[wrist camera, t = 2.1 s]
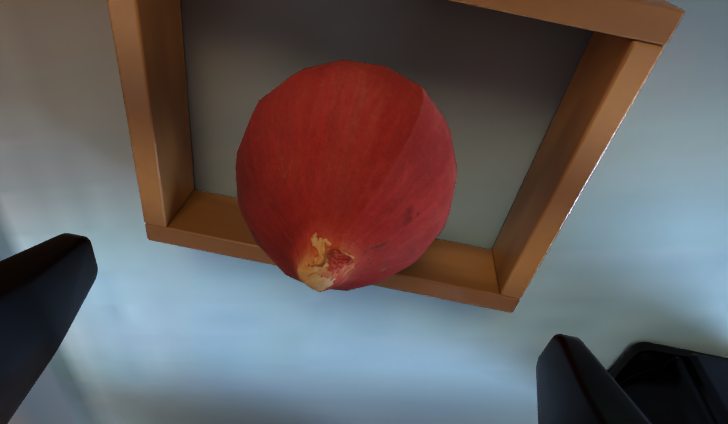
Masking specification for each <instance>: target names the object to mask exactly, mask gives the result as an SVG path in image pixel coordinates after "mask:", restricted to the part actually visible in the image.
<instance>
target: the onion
mask: <svg viewBox="0 0 728 424" xmlns="http://www.w3.org/2000/svg"><path fill="white" fill-rule="evenodd" d="M456 174H457V163H456V158H455V153H454V148H453V142H452V137H451V132H450V129H449V127H448V125H447V123H446V121H445V118H444V117H443V115H442V114H441V113H440V111H439V110H438V108H437V107H436V106H435V104H434V103H433V102H432V100H431V99H430V97H429V96H428V95H427V93H426V92H425V90H424V89H423V88H422V86H420V85H418V84H416V83H414V82H413V81H411V80H409V79H407V78H405V77H404V76H402V75H400V74H398V73H396V72H395V71H393V70H391V69H389V68H387V67H386V66H381V65H374V64H367V63H360V62H353V61H346V60H340V61H336V62H332V63H327V64H323V65H318V66H314V67H309V68H305V69H303V70H301V71H299V72H297V73H296V74H294V75H292V76H291V77H289V78H288V79H287V80H286V81H284V82H283V83H282V84H280V85H279V86H278V87H276V88H275V89H274V90H273V91H271V92H270V93H269V94H267V95H266V96H265V97H263V98H262V99H261V100H259V102H258V104H257V106H256V108H255V110H254V112H253V114H252V116H251V118H250V121H249V123H248V126H247V128H246V131H245V133H244V136H243V138H242V141H241V143H240V146H239V149H238V151H237V159H236V181H237V197H238V204H239V207H240V210H241V214H242V216H243V218H244V220H245V222H246V224H247V226H248V228H249V230H250V232H251V234H252V236H253V238H254V240H255V242H256V243H257V245H258V246H259V247H260V248H261V249H262V250H263V251H264V252H265V253H266V254H267V256H268V257H269V258H270V259H271V260H272V261H273V262H274V263H275V264H276V265H277V266H278V267H279V268H280V269H281V270H282V271H283V272H284V273H285V274H286V275H287V276H290V277H292V278H294V279H296V280H298V281H301V282H303V283H305V284H306V285H307V286H309V287H310V288H312V289H314V290H316V291H318V292H322V291H325V290H328V289H334V290H345V291H348V290H352V289H356V288H360V287H364V286H368V285H373V284H376V283H378V282H380V281H382V280H384V279H386V278H388V277H390V276H392V275H394V274H395V273H397V272H399V271H401V270H403V269H405V268H407V267H409V266H410V265H412V264H413V263H415V262H416V261H418V259H419V258H420V257H421V256H422V255H423V253H424V252H425V251H426V250H427V248H428V247H429V246H430V245H431V243H432V242H433V241H434V240H435V238H436V237H437V236H438V235H439V233H440V232H441V231H442V230H443V228H444V227H445V224H446V221H447V219H448V216H449V213H450V208H451V203H452V198H453V194H454V189H455V184H456Z"/></svg>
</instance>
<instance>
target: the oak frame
mask: <svg viewBox="0 0 728 424" xmlns="http://www.w3.org/2000/svg"><path fill="white" fill-rule="evenodd" d="M449 1H454V2H459V3H464V4H468V5H473V6H478V7H482V8H487V9H492V10H497V11H501V12H506V13H511V14H516V15H520V16H525V17H530V18H535V19H539V20H544V21H549V22H553V23H558V24H563V25H568V26H572V27H577V28H582V29H587V30H591V31H594V33H593V35H592V37H591V39H590V41H589V43H588V45H587V48H586V50H585V52H584V54H583V56H582V58H581V60H580V62H579V65H578V67H577V69H576V71H575V73H574V75H573V77H572V80H571V82H570V84H569V86H568V88H567V90H566V92H565V95H564V97H563V99H562V101H561V103H560V105H559V107H558V110H557V112H556V114H555V116H554V118H553V120H552V122H551V124H550V127H549V129H548V131H547V133H546V135H545V137H544V139H543V142H542V144H541V146H540V148H539V150H538V152H537V154H536V157H535V159H534V161H533V163H532V165H531V167H530V169H529V171H528V174H527V176H526V178H525V180H524V182H523V184H522V186H521V189H520V191H519V193H518V195H517V197H516V199H515V201H514V204H513V206H512V208H511V210H510V212H509V214H508V216H507V219H506V221H505V223H504V225H503V227H502V229H501V231H500V233H499V236H498V238H497V240H496V242H495V244H494V246H493V248H492V250H490V249H485V248H480V247H475V246H470V245H465V244H460V243H455V242H450V241H445V240H440V239H435V240H434V241H433V242H432V243H431V245H430V246H429V247H428V248H427V250H426V251H425V252H424V253H423V255H422V256H421V257H420V258H419V259H418V261H416V262H415V263H413V264H412V265H410V266H409V267H407V268H405V269H403V270H401V271H399V272H397V273H395V274H394V275H392V276H390V277H388V278H386V279H384V280H382V281H380V282H378V283H376V284H373V285H376V286H381V287H386V288H391V289H396V290H401V291H406V292H411V293H416V294H421V295H426V296H431V297H436V298H441V299H446V300H451V301H456V302H460V303H465V304H470V305H475V306H480V307H485V308H490V309H495V310H500V311H505V312H510V313H511V312H513V311H514V309H515V308H516V306H517V304H518V302H519V300H520V298H521V297H522V295H523V294H524V292H525V290H526V288H527V287H528V285H529V283H530V281H531V280H532V278H533V276H534V274H535V273H536V271H537V269H538V267H539V266H540V264H541V262H542V261H543V259H544V257H545V255H546V254H547V252H548V250H549V248H550V247H551V245H552V243H553V241H554V240H555V238H556V236H557V234H558V233H559V231H560V229H561V227H562V226H563V224H564V222H565V220H566V219H567V217H568V215H569V213H570V212H571V210H572V208H573V206H574V205H575V203H576V201H577V199H578V198H579V196H580V194H581V192H582V191H583V189H584V187H585V185H586V184H587V182H588V180H589V179H590V177H591V175H592V173H593V172H594V170H595V168H596V166H597V165H598V163H599V161H600V159H601V158H602V156H603V154H604V152H605V151H606V149H607V147H608V145H609V144H610V142H611V140H612V138H613V137H614V135H615V133H616V131H617V130H618V128H619V126H620V124H621V123H622V121H623V119H624V117H625V116H626V114H627V112H628V110H629V109H630V107H631V105H632V104H633V102H634V100H635V98H636V97H637V95H638V93H639V91H640V90H641V88H642V86H643V84H644V83H645V81H646V79H647V77H648V76H649V74H650V72H651V70H652V69H653V67H654V65H655V63H656V62H657V60H658V58H659V56H660V55H661V53H662V51H663V46H664V45H667V43H668V42H669V40H670V38H671V37H672V35H673V33H674V31H675V30H676V28H677V26H678V24H679V23H680V21H681V19H682V17H683V16H684V13H685V11H684V10H682V9H680V8H678V7H677V6H675V5H673V4H671V3H669V2H667V1H665V0H449ZM107 2H108V8H109V14H110V20H111V26H112V32H113V38H114V43H115V49H116V55H117V61H118V67H119V73H120V79H121V85H122V91H123V97H124V103H125V109H126V115H127V121H128V127H129V133H130V139H131V145H132V150H133V156H134V162H135V168H136V174H137V180H138V186H139V192H140V198H141V204H142V210H143V216H144V222H145V223H146V224H145V226H146V232H147V238H148V239H149V240H152V241H157V242H162V243H167V244H172V245H177V246H182V247H187V248H192V249H197V250H202V251H207V252H212V253H217V254H222V255H227V256H232V257H237V258H242V259H247V260H252V261H257V262H262V263H267V264H272V265H276V264H275V263H274V262H273V261H272V260H271V259H270V258H269V257H268V256H267V254H266V253H265V252H264V251H263V250H262V249H261V248H260V247H259V246H258V245H257V243H256V242H255V240H254V238H253V236H252V234H251V232H250V230H249V228H248V226H247V224H246V222H245V220H244V218H243V216H242V214H241V210H240V207H239V204H238V198H234V197H229V196H224V195H219V194H214V193H209V192H204V191H199V190H194V177H193V164H192V151H191V138H190V125H189V111H188V98H187V85H186V72H185V59H184V46H183V32H182V19H181V6H180V0H107Z"/></svg>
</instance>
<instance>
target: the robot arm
mask: <svg viewBox="0 0 728 424" xmlns="http://www.w3.org/2000/svg"><path fill="white" fill-rule="evenodd" d="M97 271H98V268H97V263H96V259H95V255H94V252H93V248H92V244H91V241H90V240H89V239H88V238H87V237H85V236H80V235H75V234H70V233H64V234H61V235H58V236H56V237H54V238H51V239H49V240H47V241H45V242H42V243H40V244H38V245H36V246H33V247H31V248H29V249H27V250H24V251H22V252H20V253H18V254H15V255H13V256H11V257H9V258H6V259H4V260H2V261H0V424H7V423H8V422H9V421H10V419H11V418H12V416H13V415H14V413H15V412H16V410H17V409H18V407H19V406H20V404H21V403H22V401H23V400H24V399H25V397H26V396H27V394H28V393H29V391H30V390H31V388H32V387H33V385H34V384H35V382H36V381H37V379H38V378H39V376H40V375H41V374H42V372H43V371H44V369H45V368H46V366H47V365H48V363H49V362H50V360H51V359H52V357H53V356H54V354H55V353H56V351H57V349H58V348H59V346H60V344H61V342H62V341H63V339H64V337H65V335H66V333H67V332H68V330H69V328H70V326H71V324H72V322H73V320H74V319H75V317H76V315H77V313H78V311H79V309H80V307H81V305H82V304H83V302H84V300H85V298H86V296H87V294H88V292H89V290H90V289H91V287H92V285H93V283H94V281H95V279H96V276H97ZM536 379H537V402H538V424H728V358H725V357H720V356H715V355H710V354H705V353H700V352H695V351H690V350H685V349H680V348H675V347H670V346H665V345H660V344H655V343H650V342H640V343H637V344H635V345H634V346H632V347H631V348H630V350H629V351H628V352H627V353H626V354H625V355H624V356H623V357H622V359H621V360H620V361H619V362H618V363H617V364H616V365H615V366H614V368H613V369H612V370H611V371H610V372H609V373H608V372H607V370H606V369H605V368H604V367H603V366H602V364H601V363H600V362H599V361H598V360H597V359H596V357H595V356H594V355H593V354H592V353H591V351H590V350H589V349H588V348H587V347H586V345H585V344H584V343H583V342H582V341H581V340H580V339H579V338H577V337H573V336H568V335H564V334H556V335H555V336H553V338H552V339H551V340H550V342H549V343H548V345H547V346H546V348H545V349H544V350H543V352H542V353H541V355H540V356H539V358H538V361H537V365H536Z"/></svg>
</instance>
